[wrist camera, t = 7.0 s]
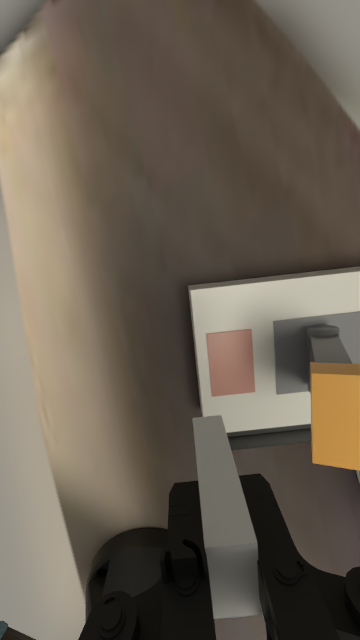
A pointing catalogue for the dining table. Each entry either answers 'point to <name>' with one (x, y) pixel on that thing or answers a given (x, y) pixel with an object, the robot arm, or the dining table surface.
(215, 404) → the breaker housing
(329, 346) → the breaker lever
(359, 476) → the coffee can
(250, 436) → the long thin dark rod
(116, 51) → the dining table surface
